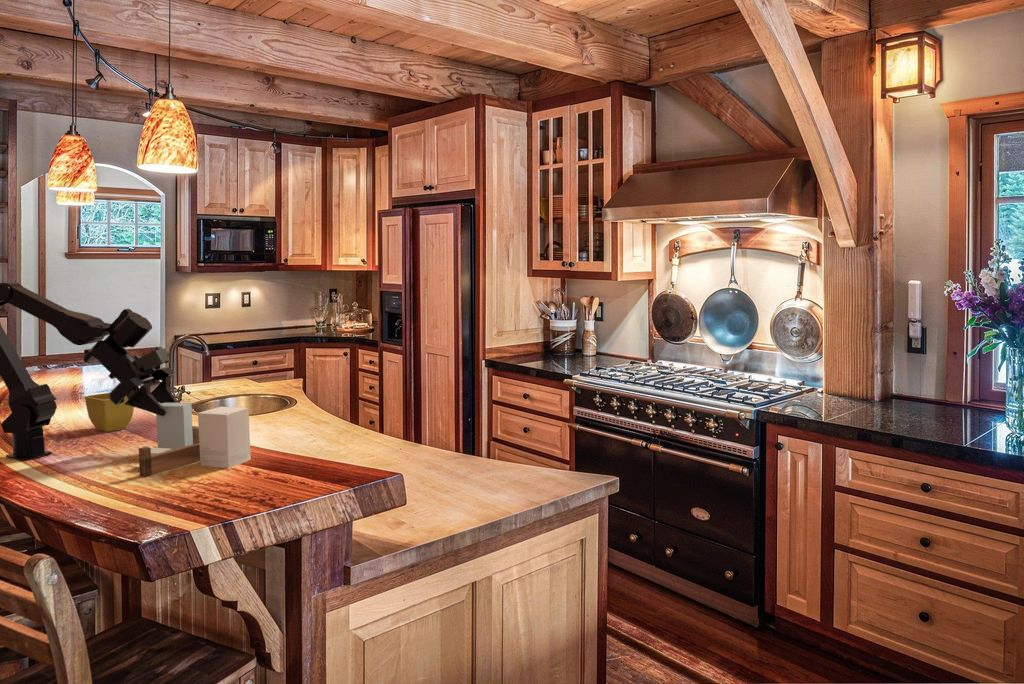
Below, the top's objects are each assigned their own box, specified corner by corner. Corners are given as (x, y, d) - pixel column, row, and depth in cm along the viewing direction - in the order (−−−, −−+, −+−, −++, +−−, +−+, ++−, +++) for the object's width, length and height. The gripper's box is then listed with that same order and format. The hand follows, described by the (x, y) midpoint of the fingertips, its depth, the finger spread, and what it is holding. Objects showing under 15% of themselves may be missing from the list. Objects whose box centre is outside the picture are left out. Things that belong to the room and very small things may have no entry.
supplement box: (252, 466, 158) (250, 408, 157) (228, 475, 151) (226, 414, 150) (223, 463, 160) (221, 405, 159) (199, 472, 153) (196, 412, 152)
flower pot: (137, 428, 193) (136, 394, 192) (104, 435, 186) (102, 399, 185) (118, 424, 198) (117, 391, 197) (85, 430, 190) (83, 396, 190)
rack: (86, 473, 152) (84, 439, 151) (188, 446, 175) (187, 416, 174) (145, 484, 145) (143, 449, 144) (244, 454, 167) (243, 424, 167)
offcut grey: (141, 459, 151) (141, 452, 150) (154, 454, 154) (153, 447, 154) (159, 460, 150) (159, 453, 150) (171, 455, 154) (171, 448, 154)
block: (158, 459, 163) (155, 406, 161) (166, 455, 167) (164, 402, 165) (185, 460, 163) (183, 406, 161) (193, 455, 167) (191, 402, 165)
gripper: (121, 340, 153) (176, 394, 154) (164, 332, 171) (213, 380, 172) (85, 378, 154) (140, 431, 155) (132, 366, 172) (181, 413, 173)
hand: (171, 411), depth 164 cm, fingers open, 6 cm apart
